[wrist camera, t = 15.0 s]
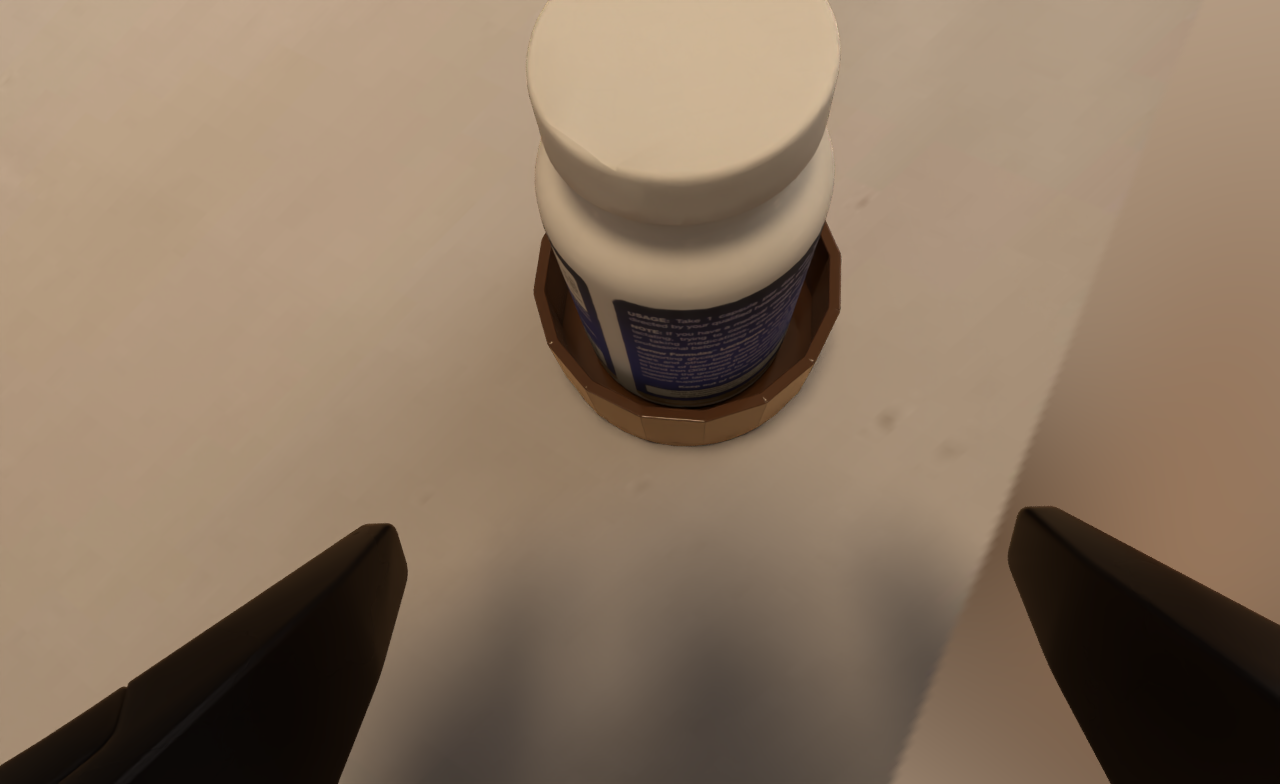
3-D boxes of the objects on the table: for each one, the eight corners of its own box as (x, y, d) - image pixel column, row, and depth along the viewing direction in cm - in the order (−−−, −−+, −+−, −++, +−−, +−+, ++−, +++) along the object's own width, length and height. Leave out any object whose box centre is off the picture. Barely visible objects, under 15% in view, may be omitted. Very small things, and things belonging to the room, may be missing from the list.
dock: (874, 331, 19) (907, 285, 16) (670, 503, 18) (667, 487, 15) (699, 163, 21) (701, 96, 18) (508, 308, 20) (477, 261, 17)
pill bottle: (818, 282, 19) (948, -27, 9) (726, 449, 18) (767, 287, 8) (649, 203, 20) (613, -143, 11) (551, 354, 19) (411, 116, 9)
